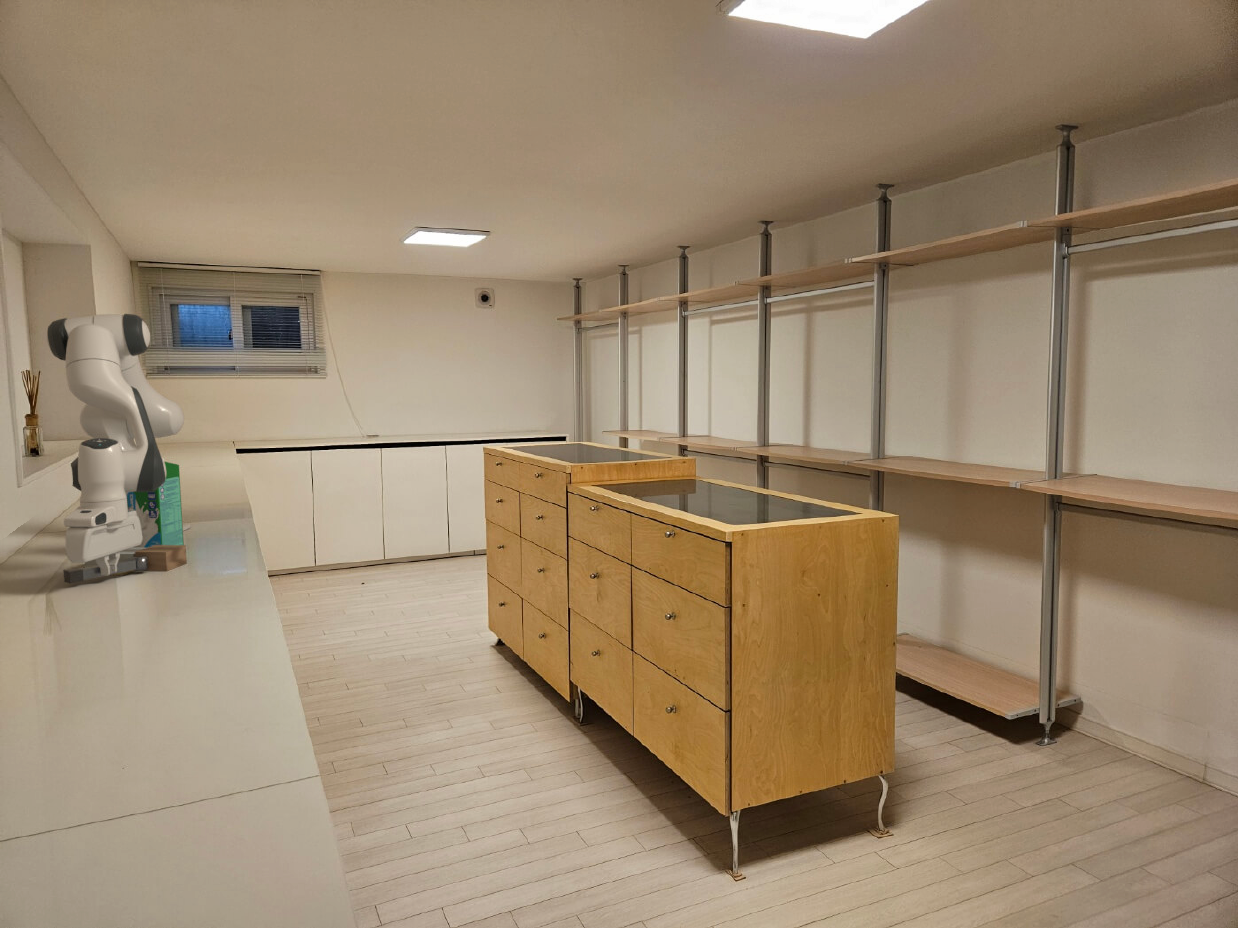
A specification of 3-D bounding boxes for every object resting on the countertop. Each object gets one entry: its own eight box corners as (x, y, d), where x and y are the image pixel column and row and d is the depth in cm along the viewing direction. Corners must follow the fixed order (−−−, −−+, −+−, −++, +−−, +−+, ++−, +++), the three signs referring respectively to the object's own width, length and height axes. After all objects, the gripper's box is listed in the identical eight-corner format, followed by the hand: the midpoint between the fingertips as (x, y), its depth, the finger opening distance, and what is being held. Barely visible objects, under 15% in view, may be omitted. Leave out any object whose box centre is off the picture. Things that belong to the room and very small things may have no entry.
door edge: (108, 562, 203) (107, 544, 202) (186, 563, 202) (185, 545, 201) (85, 569, 195) (84, 551, 194) (166, 571, 194) (165, 552, 193)
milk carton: (184, 550, 216) (178, 455, 214) (162, 558, 207) (156, 459, 205) (152, 549, 217) (146, 455, 215) (128, 557, 208) (121, 458, 206)
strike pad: (86, 570, 195) (86, 568, 195) (135, 570, 194) (135, 569, 194) (74, 574, 191) (74, 572, 191) (124, 575, 190) (124, 573, 190)
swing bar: (144, 567, 194) (143, 554, 194) (150, 568, 192) (150, 556, 192) (64, 582, 180) (63, 569, 179) (70, 584, 178) (69, 570, 178)
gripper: (121, 505, 193) (125, 563, 194) (57, 520, 172) (62, 585, 174) (147, 505, 192) (151, 563, 194) (86, 520, 172) (91, 585, 173)
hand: (109, 573), depth 184 cm, fingers closed
